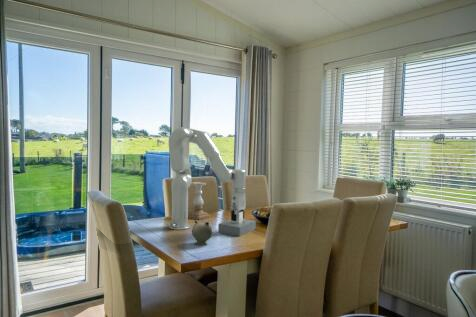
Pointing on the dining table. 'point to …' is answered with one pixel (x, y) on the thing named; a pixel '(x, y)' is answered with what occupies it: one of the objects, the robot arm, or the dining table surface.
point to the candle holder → (198, 203)
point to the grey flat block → (237, 227)
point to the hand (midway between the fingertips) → (237, 219)
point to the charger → (238, 217)
